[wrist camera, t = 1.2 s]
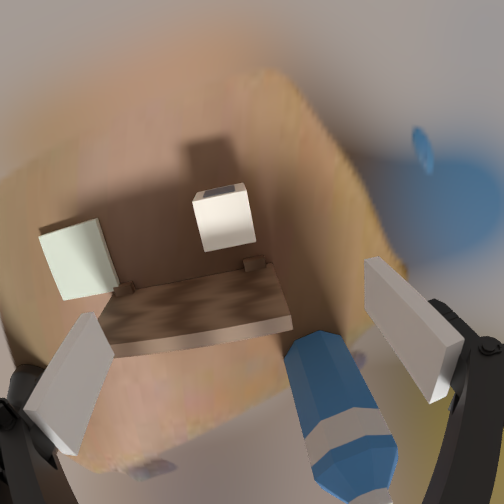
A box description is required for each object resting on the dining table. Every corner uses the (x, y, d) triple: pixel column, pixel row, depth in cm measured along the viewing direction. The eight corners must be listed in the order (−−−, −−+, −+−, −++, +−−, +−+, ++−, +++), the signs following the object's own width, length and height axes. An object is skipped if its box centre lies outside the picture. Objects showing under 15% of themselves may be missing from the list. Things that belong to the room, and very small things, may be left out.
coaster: (66, 297, 35) (63, 300, 34) (41, 235, 31) (38, 237, 31) (121, 287, 35) (119, 290, 34) (97, 217, 31) (95, 219, 31)
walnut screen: (121, 312, 36) (93, 369, 26) (110, 285, 35) (76, 337, 24) (275, 283, 36) (294, 340, 26) (270, 253, 35) (289, 302, 25)
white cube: (207, 235, 34) (204, 252, 29) (196, 190, 32) (191, 200, 27) (252, 226, 34) (256, 241, 29) (243, 180, 32) (246, 188, 27)
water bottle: (285, 333, 39) (336, 510, 16) (351, 326, 40) (435, 477, 17) (282, 381, 42) (317, 535, 19) (340, 374, 43) (399, 511, 20)
